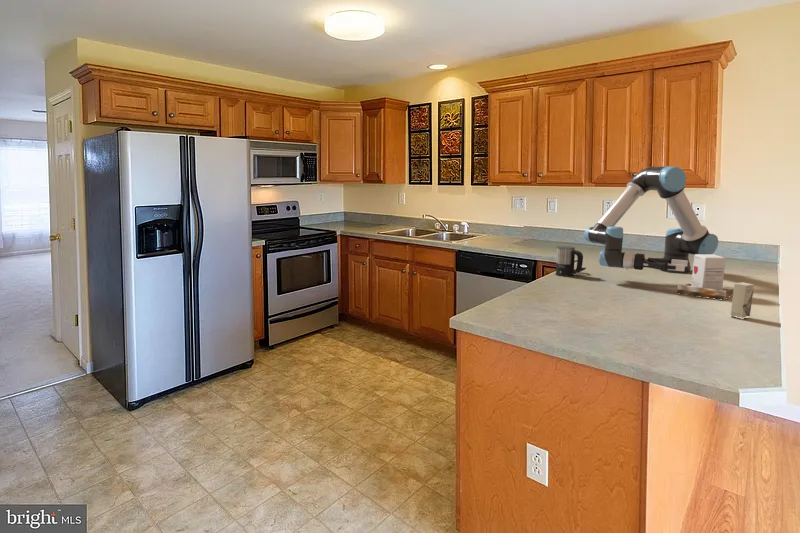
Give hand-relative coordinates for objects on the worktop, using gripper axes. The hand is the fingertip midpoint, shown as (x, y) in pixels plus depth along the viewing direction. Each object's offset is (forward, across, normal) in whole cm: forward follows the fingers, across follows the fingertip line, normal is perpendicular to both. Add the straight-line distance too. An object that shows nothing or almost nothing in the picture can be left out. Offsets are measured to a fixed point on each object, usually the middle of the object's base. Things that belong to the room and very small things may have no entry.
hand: (686, 265), depth 224 cm
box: (+21, +36, -12) cm, 43 cm away
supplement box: (+9, 0, -10) cm, 13 cm away
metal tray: (+8, +1, -12) cm, 14 cm away
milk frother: (-53, -10, -12) cm, 55 cm away
